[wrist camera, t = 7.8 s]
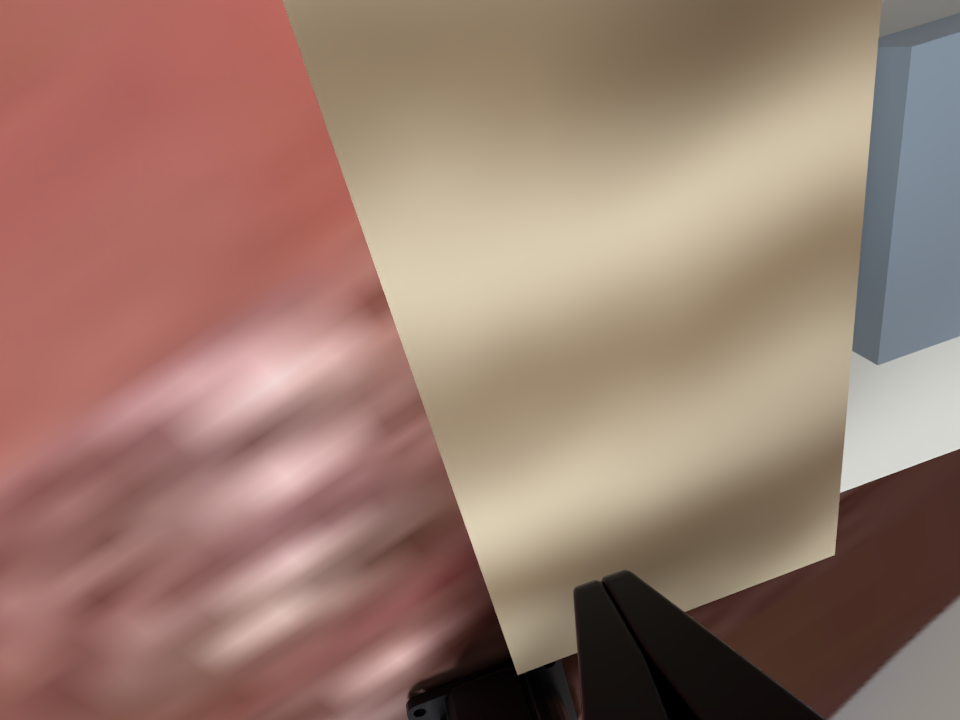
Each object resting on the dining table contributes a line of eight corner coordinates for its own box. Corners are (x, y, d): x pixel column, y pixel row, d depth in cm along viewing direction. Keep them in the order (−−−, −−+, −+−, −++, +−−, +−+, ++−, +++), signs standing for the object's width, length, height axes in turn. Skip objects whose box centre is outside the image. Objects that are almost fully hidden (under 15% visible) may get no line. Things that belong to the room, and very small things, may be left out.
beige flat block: (758, 479, 23) (834, 554, 20) (487, 577, 22) (517, 675, 19) (753, -194, 13) (905, -280, 10) (265, -68, 12) (242, -115, 9)
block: (877, 365, 19) (830, 338, 20) (1046, 305, 19) (985, 284, 21) (911, 47, 14) (847, 47, 16) (1130, -21, 15) (1044, -13, 16)
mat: (1029, 416, 25) (1036, 419, 25) (769, 512, 24) (774, 516, 24) (1265, -444, 13) (1284, -454, 13) (774, -326, 12) (784, -335, 12)
